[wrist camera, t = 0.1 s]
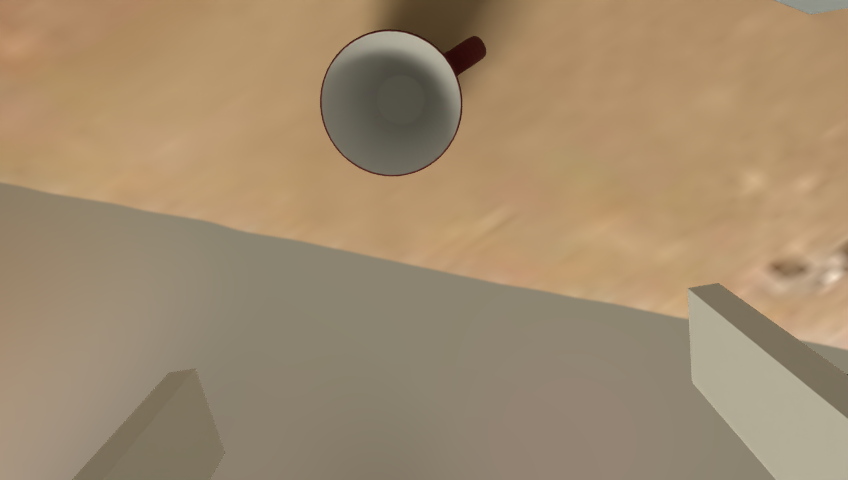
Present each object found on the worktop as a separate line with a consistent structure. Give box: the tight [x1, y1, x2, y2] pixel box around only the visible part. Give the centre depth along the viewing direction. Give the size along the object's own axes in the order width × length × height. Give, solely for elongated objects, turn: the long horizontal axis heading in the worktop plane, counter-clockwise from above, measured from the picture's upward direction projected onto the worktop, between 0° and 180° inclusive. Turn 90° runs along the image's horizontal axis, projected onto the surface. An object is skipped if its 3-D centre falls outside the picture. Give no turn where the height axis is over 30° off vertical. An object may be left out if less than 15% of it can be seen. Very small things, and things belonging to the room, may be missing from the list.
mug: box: [320, 30, 486, 176], centre depth 34 cm, size 10×8×10 cm
